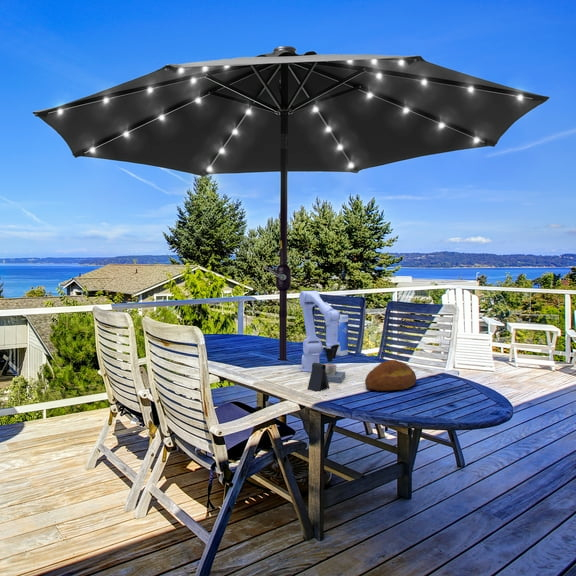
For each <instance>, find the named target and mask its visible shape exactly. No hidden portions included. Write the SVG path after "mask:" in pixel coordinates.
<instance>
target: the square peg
mask: <svg viewBox="0 0 576 576" xmlns="http://www.w3.org/2000/svg"><path fill="white" fill-rule="evenodd" d="M336 371H337V365H336V366H327V367H326V374H327V375H336Z"/></svg>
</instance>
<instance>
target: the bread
mask: <svg viewBox="0 0 576 576" xmlns="http://www.w3.org/2000/svg"><path fill="white" fill-rule="evenodd" d="M416 382H417V375H416V373H415V371H414V370H413V369H412V368H411V367H410V365H408V364H406V363H404V362H403V361H399V360H397V359H390V360H386V361H383V362H380V363H379V364H378V365H376V366H375V367H374V368H373V369H372V370H370V371H369V372H368V374H367V375H366V377H365V380H364V385H365V387H366V388H367V389H369V390H372V391H376V392H378V391H379V392H383V391H384V392H385V391H387V392H389V391H390V392H391V391H401V390H406V389H409V388H411V387H413V386H415V384H416Z"/></svg>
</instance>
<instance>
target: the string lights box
mask: <svg viewBox="0 0 576 576" xmlns="http://www.w3.org/2000/svg"><path fill="white" fill-rule="evenodd" d="M337 342H339V343H340V344H337V345H339V347H338V350H337V353H336V356H339V357H343V356H347V355H349V315H348V314H340V320H339V321H338V336H337ZM325 347H327V345H326V344H325Z"/></svg>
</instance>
